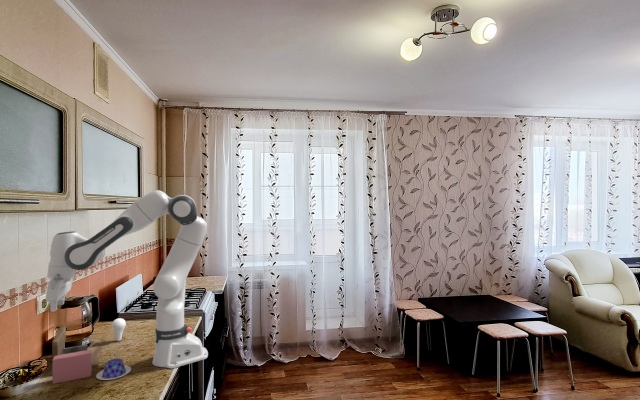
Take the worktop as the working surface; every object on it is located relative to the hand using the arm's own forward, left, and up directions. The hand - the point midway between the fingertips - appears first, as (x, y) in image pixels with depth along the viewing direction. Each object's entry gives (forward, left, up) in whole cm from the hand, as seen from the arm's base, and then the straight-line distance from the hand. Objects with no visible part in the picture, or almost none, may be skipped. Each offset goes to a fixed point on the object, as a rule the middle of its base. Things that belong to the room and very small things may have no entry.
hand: (57, 307), depth 138 cm
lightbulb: (-20, -30, -27) cm, 45 cm away
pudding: (-19, +8, -27) cm, 35 cm away
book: (-5, +4, -27) cm, 28 cm away
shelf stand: (-5, -13, -27) cm, 30 cm away
